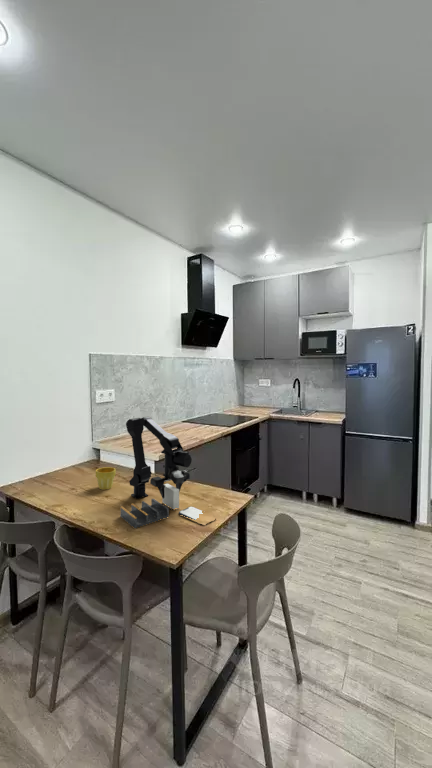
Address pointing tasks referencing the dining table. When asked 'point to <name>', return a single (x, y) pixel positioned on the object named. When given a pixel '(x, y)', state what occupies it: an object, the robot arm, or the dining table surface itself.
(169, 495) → the panel
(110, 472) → the plant pot
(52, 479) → the dining table surface
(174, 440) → the robot arm
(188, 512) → the phone case
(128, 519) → the rack
